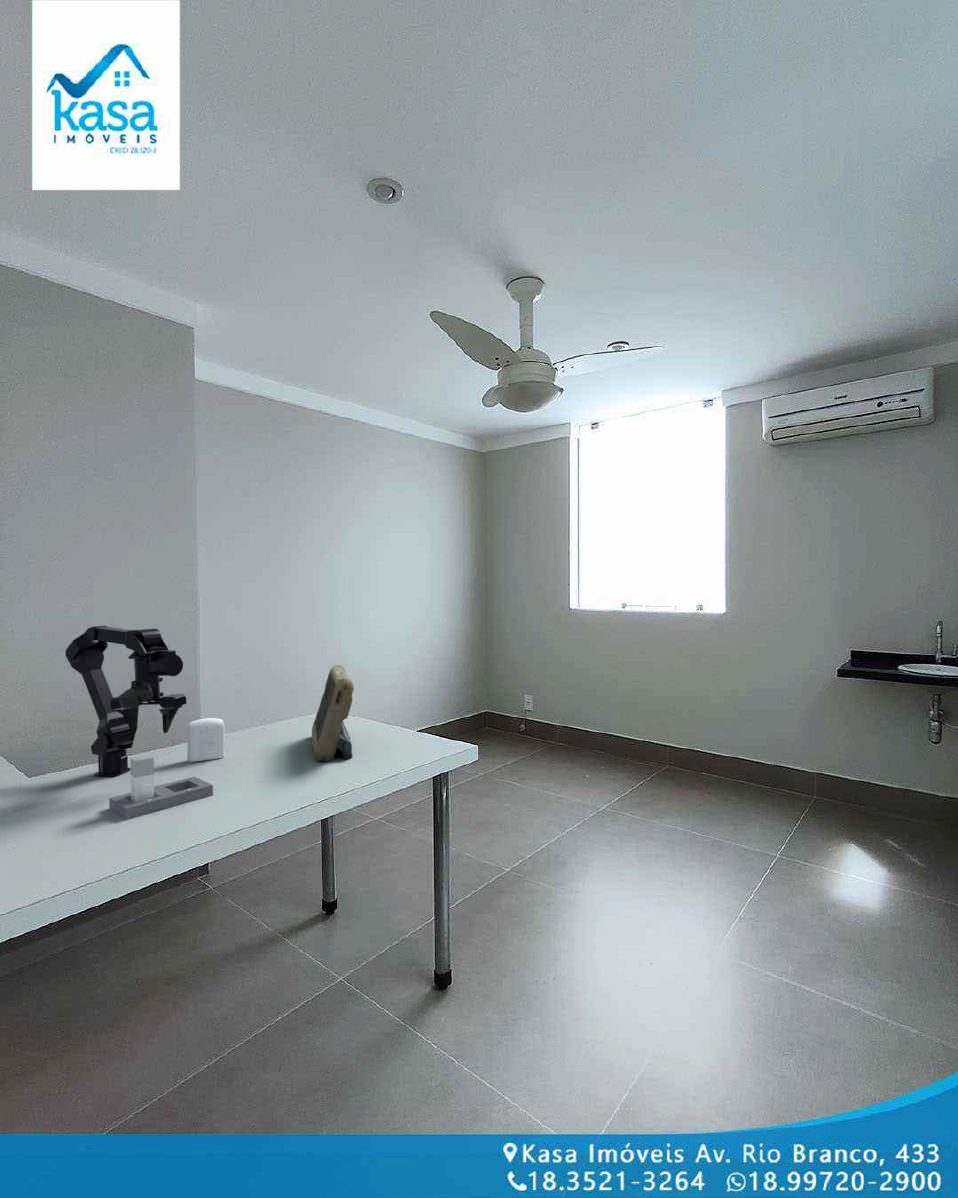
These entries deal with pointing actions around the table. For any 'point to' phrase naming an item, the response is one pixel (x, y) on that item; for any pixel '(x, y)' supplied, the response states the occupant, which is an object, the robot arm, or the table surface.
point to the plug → (142, 778)
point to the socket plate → (162, 797)
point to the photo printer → (205, 739)
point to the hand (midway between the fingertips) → (149, 733)
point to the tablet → (333, 717)
